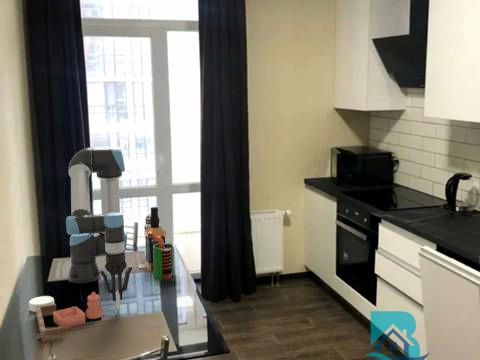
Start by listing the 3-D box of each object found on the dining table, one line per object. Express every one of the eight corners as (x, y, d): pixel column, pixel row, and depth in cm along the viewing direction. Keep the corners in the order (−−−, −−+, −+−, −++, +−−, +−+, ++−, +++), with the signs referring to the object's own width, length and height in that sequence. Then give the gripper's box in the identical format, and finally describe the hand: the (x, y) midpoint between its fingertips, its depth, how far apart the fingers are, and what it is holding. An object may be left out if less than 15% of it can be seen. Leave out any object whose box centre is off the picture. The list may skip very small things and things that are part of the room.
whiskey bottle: (144, 266, 271) (142, 206, 267) (163, 264, 275) (161, 204, 271) (149, 272, 262) (147, 209, 257) (168, 269, 266) (166, 208, 261)
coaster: (57, 303, 222) (57, 295, 222) (50, 312, 212) (49, 304, 212) (34, 303, 222) (33, 295, 221) (25, 312, 212) (24, 304, 212)
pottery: (62, 330, 195) (60, 305, 194) (53, 322, 203) (52, 298, 201) (107, 317, 206) (106, 294, 205) (97, 310, 214) (96, 287, 212)
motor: (168, 280, 249) (166, 240, 246) (150, 279, 251) (149, 239, 248) (175, 274, 259) (173, 234, 256) (158, 273, 260) (156, 234, 258)
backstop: (36, 316, 208) (35, 306, 207) (56, 312, 211) (55, 303, 211) (42, 342, 185) (41, 331, 184) (64, 338, 188) (63, 327, 187)
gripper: (100, 256, 201) (103, 314, 204) (133, 251, 206) (135, 308, 210) (97, 251, 208) (99, 307, 211) (129, 247, 213) (131, 302, 216)
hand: (117, 308), depth 210 cm, fingers closed
